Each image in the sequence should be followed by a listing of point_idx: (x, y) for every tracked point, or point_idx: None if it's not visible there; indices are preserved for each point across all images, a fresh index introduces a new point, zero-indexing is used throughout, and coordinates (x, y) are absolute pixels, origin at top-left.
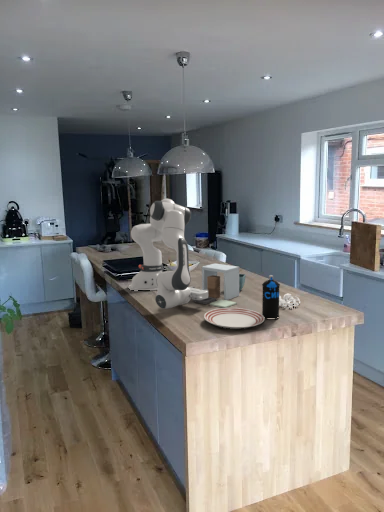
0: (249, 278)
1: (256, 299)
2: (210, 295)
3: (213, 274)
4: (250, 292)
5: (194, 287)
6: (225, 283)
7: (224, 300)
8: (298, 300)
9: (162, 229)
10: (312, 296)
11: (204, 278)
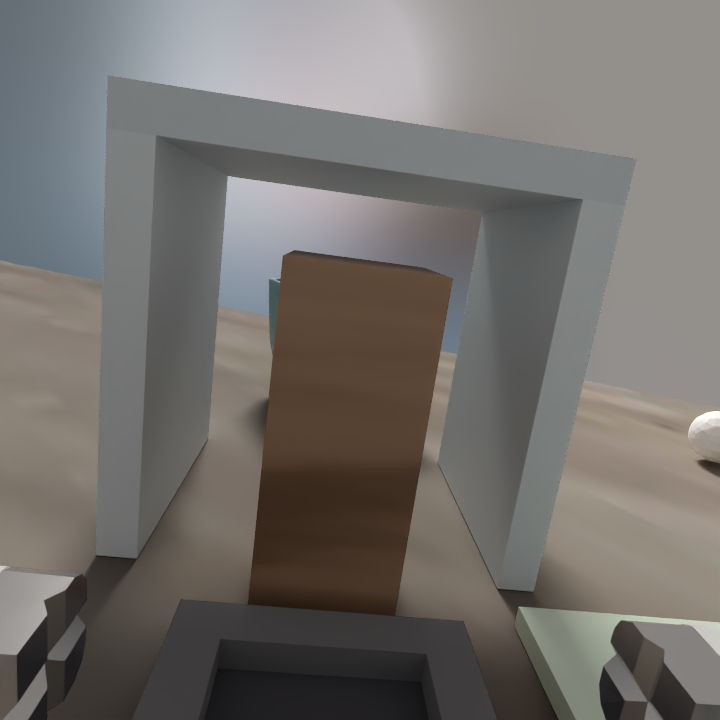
0: (241, 322)
1: (643, 486)
2: (315, 572)
3: (207, 260)
4: (442, 414)
5: (81, 586)
6: (573, 367)
7: (602, 630)
8: None
9: None
10: (696, 404)
11: (152, 297)
